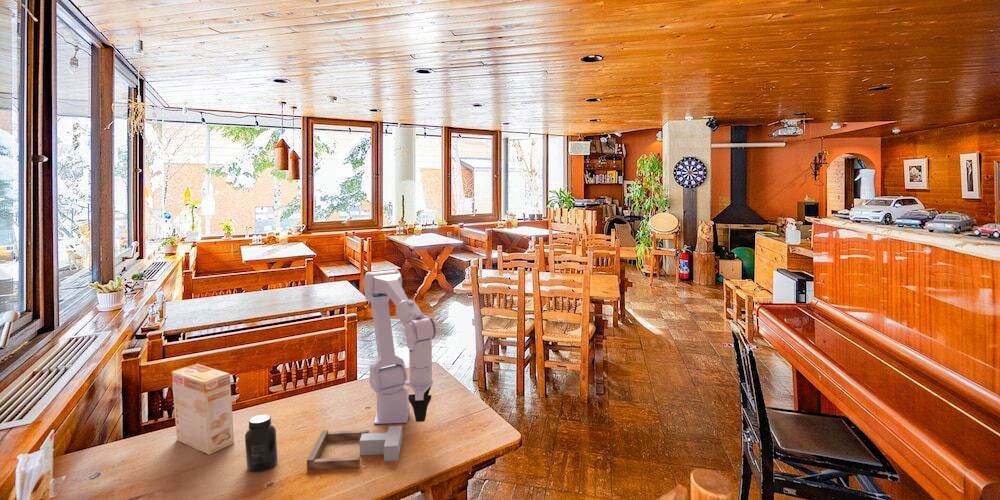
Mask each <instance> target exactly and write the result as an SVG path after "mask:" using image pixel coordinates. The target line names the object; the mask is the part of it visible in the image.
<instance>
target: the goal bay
mask: <svg viewBox="0 0 1000 500" xmlns="http://www.w3.org/2000/svg"><path fill="white" fill-rule="evenodd" d="M366 433H370V431H369V429H368V430H367V429H364V430H362V429H361V430H359V429H358V430H339V431H337V430H336V431H329V429H324V430H322V431H321V432H320V434H319V436H318V438H317V440H316V442H315V443H314V445H313V447H312V449H311V451H310V453H309V455H308V457H307V459H306V470H307V471H313V470H314V471H315V470H330V469H331V470H332V469H349V468H350V469H352V468H354V469H355V468H359V467H360V465H361V459H360V458H361V457H360V456H353V457H351V456H350V457H334V458H333V457H330V458H329V457H327V458H320V457H321V455H322V453H323V451H324V449H325V446H326V445H327V443H328V442H333V441H358V440H359V441H360V438H361V435H362V434H366Z"/></svg>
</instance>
